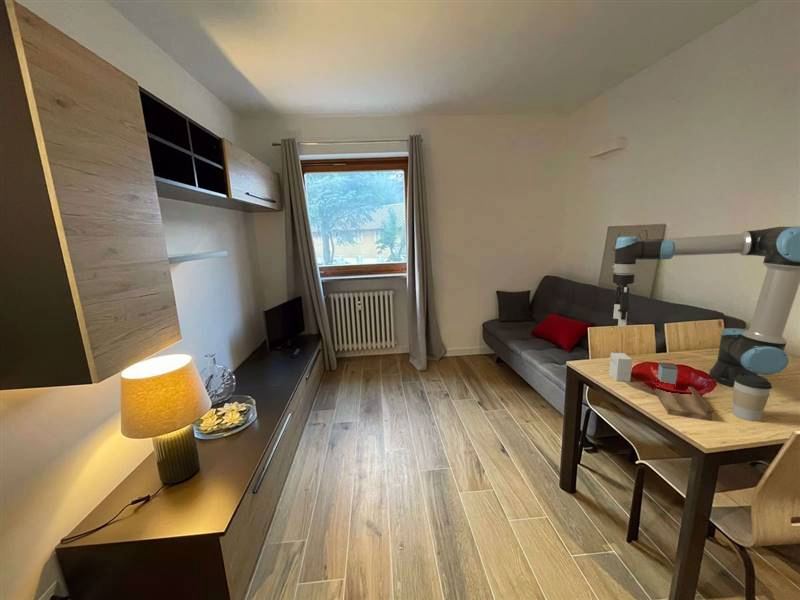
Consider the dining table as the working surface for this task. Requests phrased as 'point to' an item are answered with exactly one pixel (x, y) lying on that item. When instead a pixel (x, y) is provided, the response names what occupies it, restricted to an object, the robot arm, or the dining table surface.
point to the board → (685, 404)
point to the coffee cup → (750, 396)
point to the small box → (620, 367)
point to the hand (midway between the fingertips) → (619, 322)
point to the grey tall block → (667, 373)
